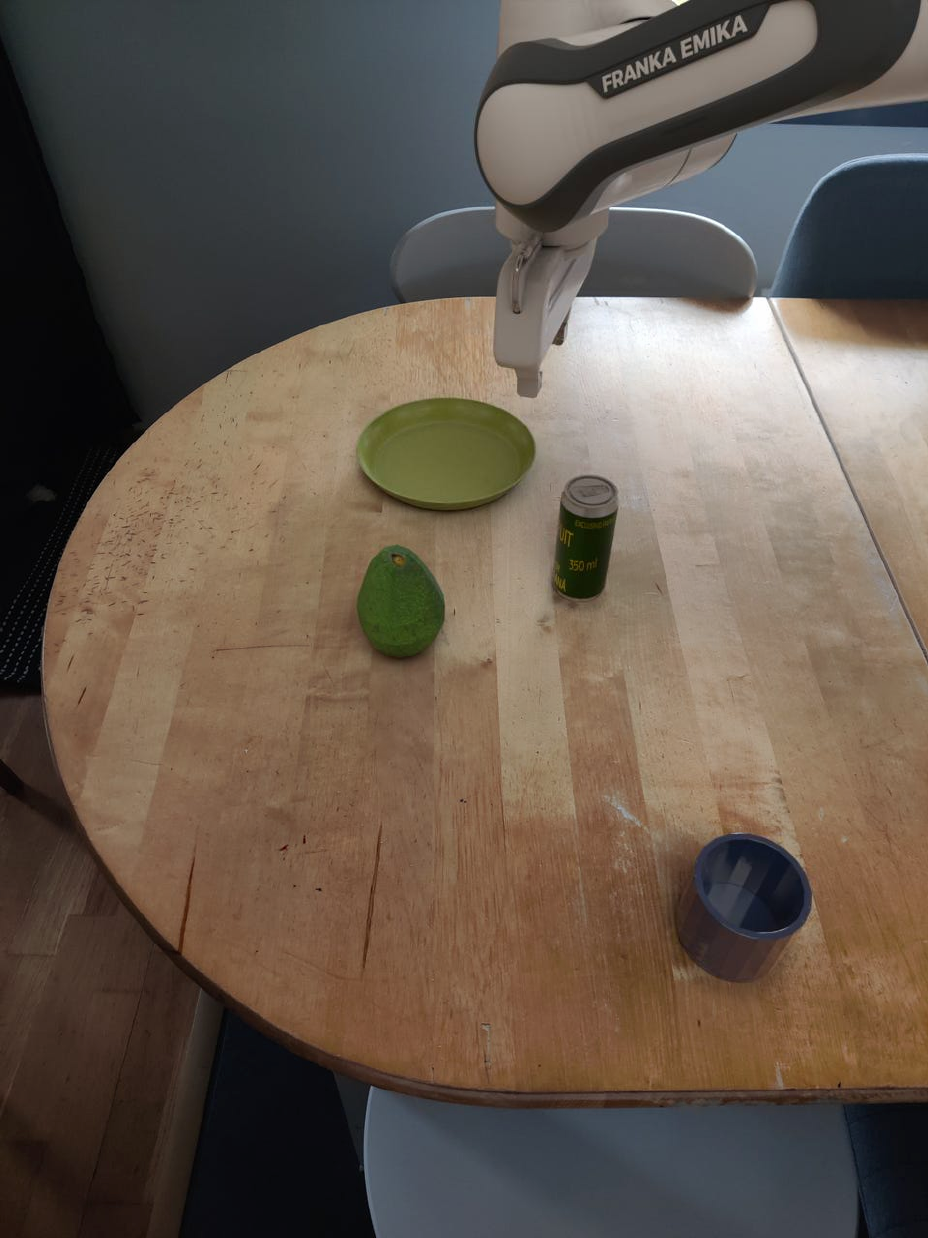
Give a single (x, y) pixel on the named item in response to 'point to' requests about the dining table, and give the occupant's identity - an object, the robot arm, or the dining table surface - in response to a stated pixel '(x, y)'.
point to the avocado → (400, 603)
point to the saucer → (446, 452)
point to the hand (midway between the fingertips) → (542, 366)
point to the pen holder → (742, 907)
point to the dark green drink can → (584, 537)
